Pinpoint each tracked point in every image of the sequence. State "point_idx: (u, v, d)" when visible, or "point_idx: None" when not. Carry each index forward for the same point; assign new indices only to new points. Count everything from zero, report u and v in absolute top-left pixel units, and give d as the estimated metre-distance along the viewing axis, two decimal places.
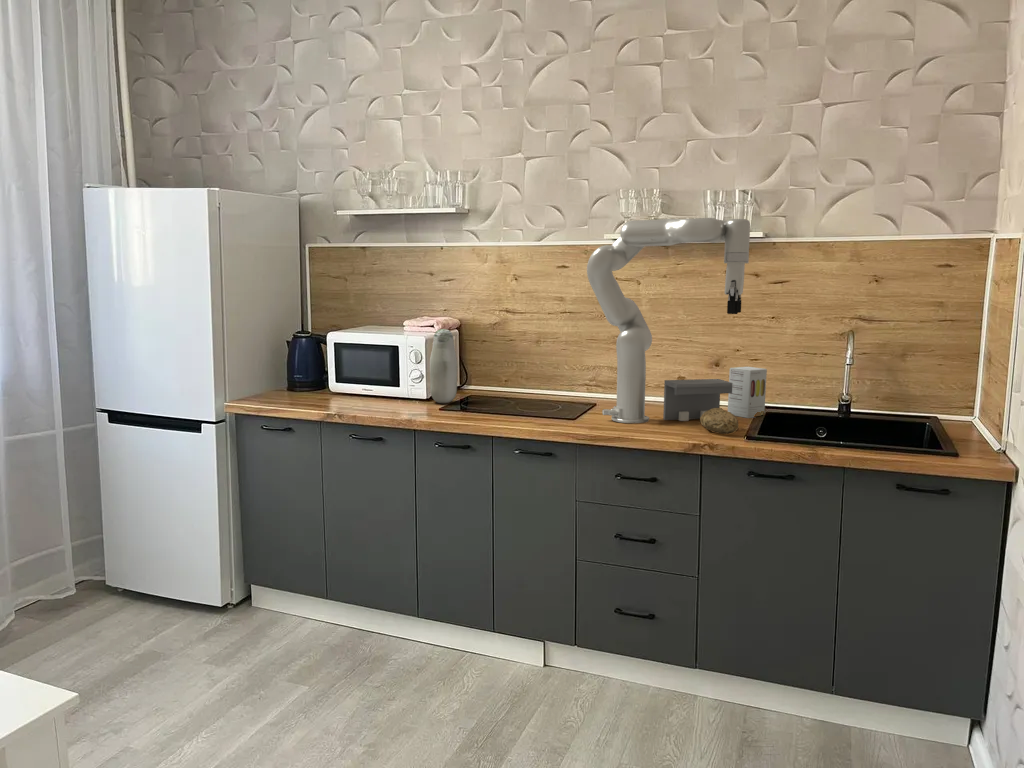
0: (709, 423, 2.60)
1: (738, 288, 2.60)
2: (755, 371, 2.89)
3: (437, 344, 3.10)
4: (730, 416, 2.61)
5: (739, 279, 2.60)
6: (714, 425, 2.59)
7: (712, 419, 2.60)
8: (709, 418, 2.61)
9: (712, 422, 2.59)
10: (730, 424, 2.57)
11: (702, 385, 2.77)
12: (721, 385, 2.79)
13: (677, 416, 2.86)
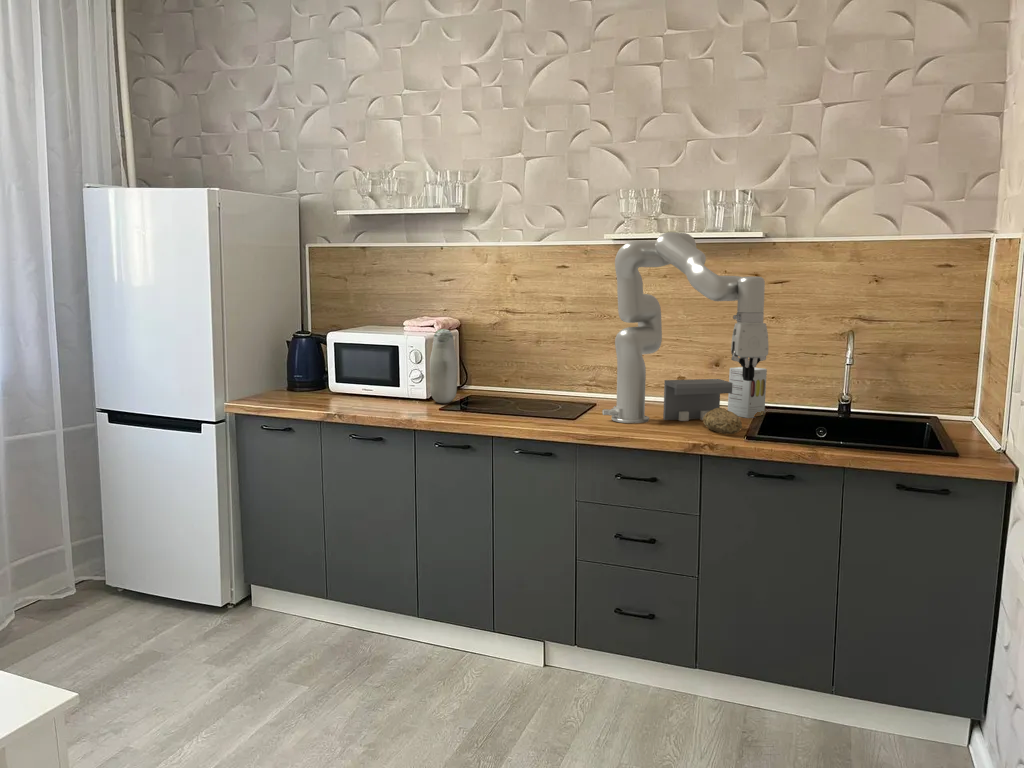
0: (712, 423, 2.60)
1: None
2: (755, 371, 2.89)
3: (436, 344, 3.10)
4: (733, 416, 2.61)
5: None
6: (717, 425, 2.59)
7: (715, 419, 2.60)
8: (712, 418, 2.61)
9: (715, 422, 2.59)
10: (733, 424, 2.57)
11: (702, 385, 2.77)
12: (721, 385, 2.79)
13: (677, 416, 2.86)
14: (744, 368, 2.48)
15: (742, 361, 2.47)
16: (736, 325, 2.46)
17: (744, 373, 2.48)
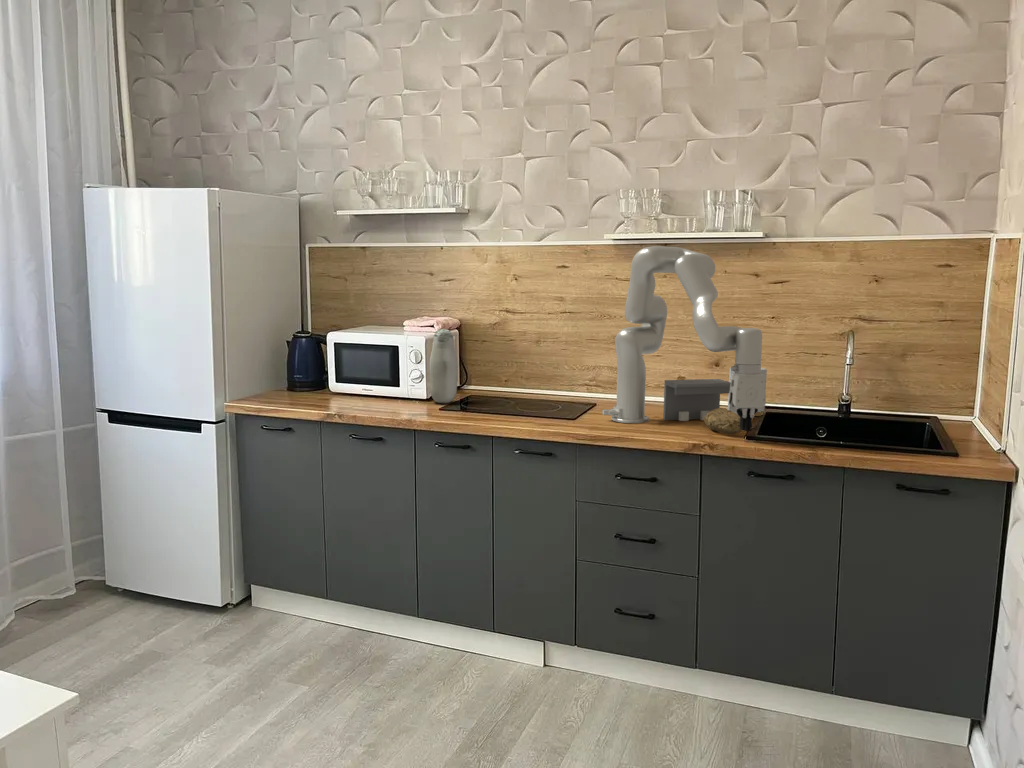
0: (714, 423, 2.60)
1: None
2: None
3: (436, 344, 3.10)
4: (735, 416, 2.61)
5: None
6: (719, 425, 2.59)
7: (717, 419, 2.59)
8: (714, 418, 2.61)
9: (717, 422, 2.59)
10: (735, 424, 2.57)
11: (702, 385, 2.77)
12: (721, 385, 2.79)
13: (677, 416, 2.86)
14: (741, 418, 2.50)
15: (740, 412, 2.49)
16: (734, 376, 2.48)
17: (742, 423, 2.50)
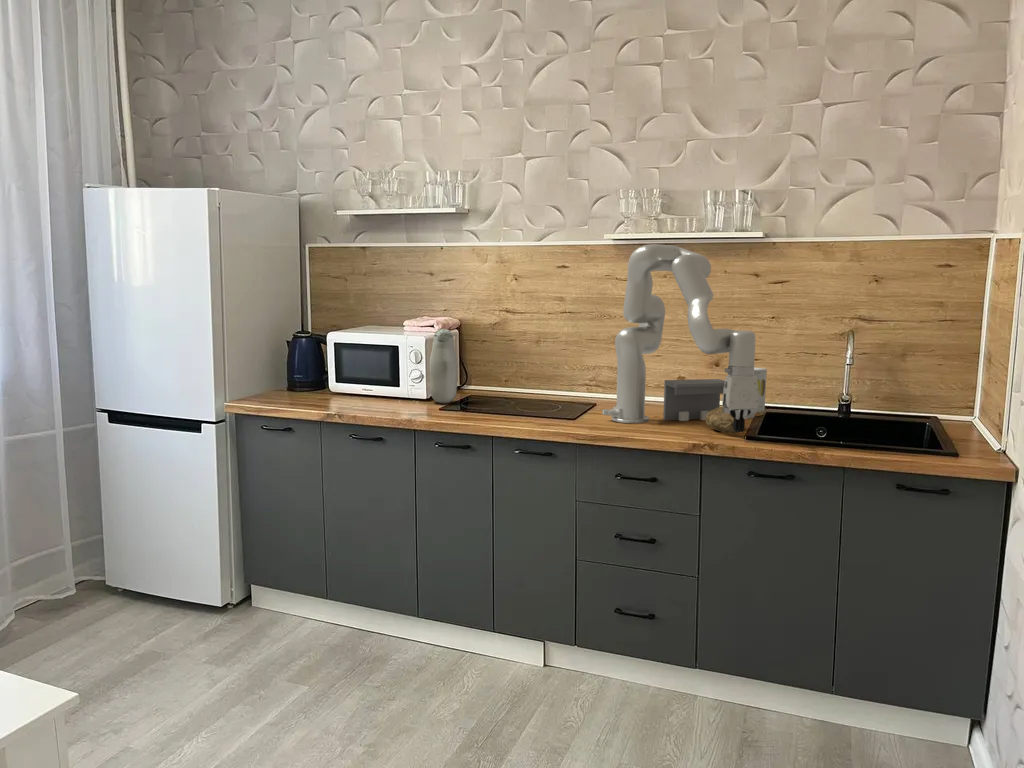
0: (716, 423, 2.60)
1: None
2: (755, 371, 2.89)
3: (436, 344, 3.10)
4: None
5: None
6: (721, 424, 2.59)
7: (719, 418, 2.60)
8: (716, 417, 2.61)
9: (719, 421, 2.59)
10: None
11: (702, 385, 2.77)
12: (721, 385, 2.79)
13: (677, 416, 2.86)
14: (735, 419, 2.54)
15: (733, 413, 2.53)
16: (727, 378, 2.52)
17: (735, 424, 2.54)
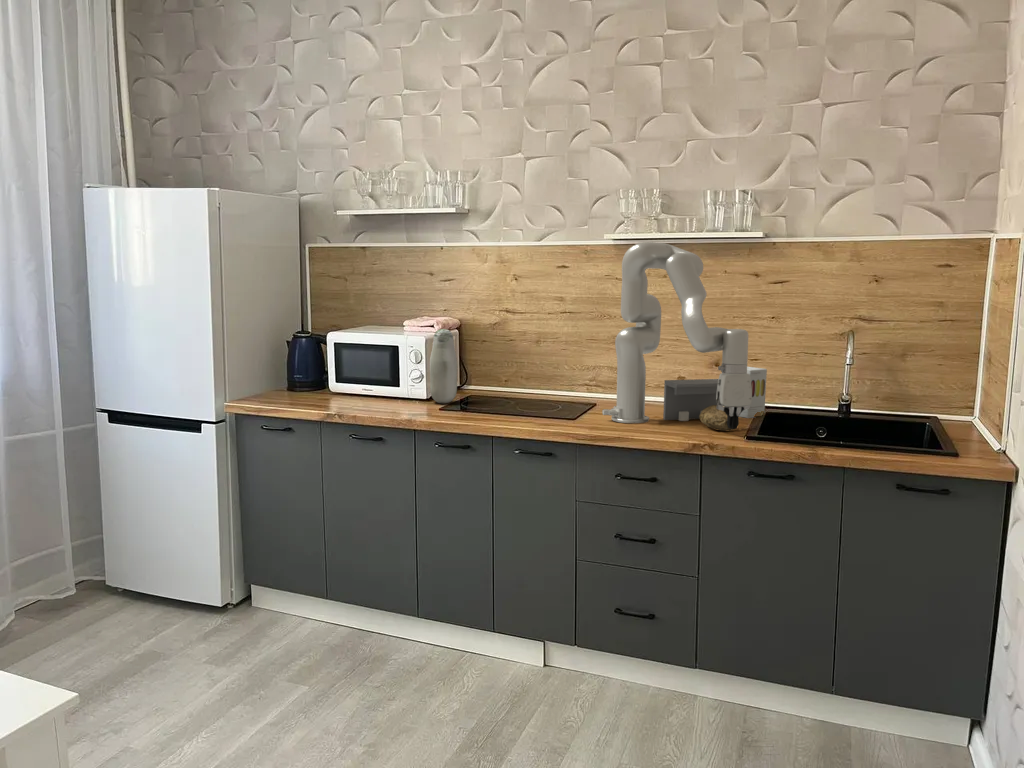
0: (711, 420, 2.64)
1: None
2: (755, 371, 2.89)
3: (436, 344, 3.10)
4: None
5: None
6: (716, 422, 2.63)
7: (714, 416, 2.64)
8: (710, 415, 2.65)
9: (714, 419, 2.63)
10: None
11: (702, 385, 2.77)
12: None
13: (677, 416, 2.86)
14: (728, 416, 2.58)
15: (726, 410, 2.57)
16: (721, 376, 2.56)
17: (728, 421, 2.59)
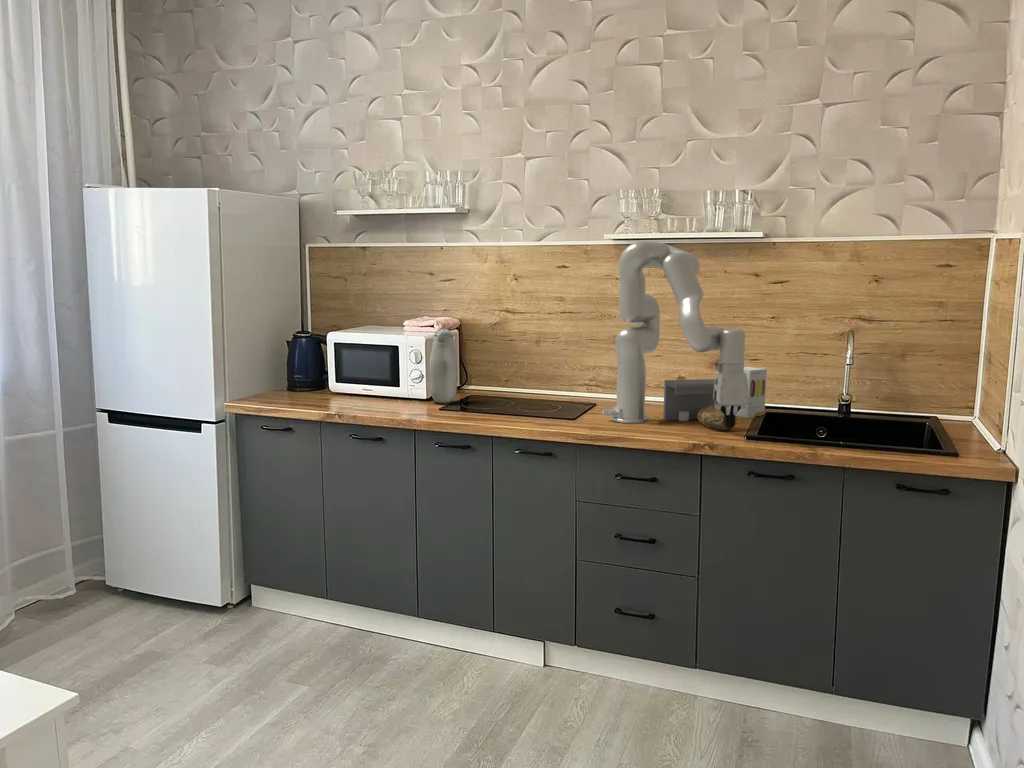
0: (708, 419, 2.66)
1: None
2: (755, 371, 2.89)
3: (436, 344, 3.10)
4: None
5: None
6: (713, 421, 2.65)
7: (711, 415, 2.66)
8: (708, 414, 2.67)
9: (711, 418, 2.65)
10: None
11: (702, 385, 2.77)
12: None
13: (677, 416, 2.86)
14: (725, 415, 2.60)
15: (723, 409, 2.59)
16: (718, 375, 2.58)
17: (725, 420, 2.61)
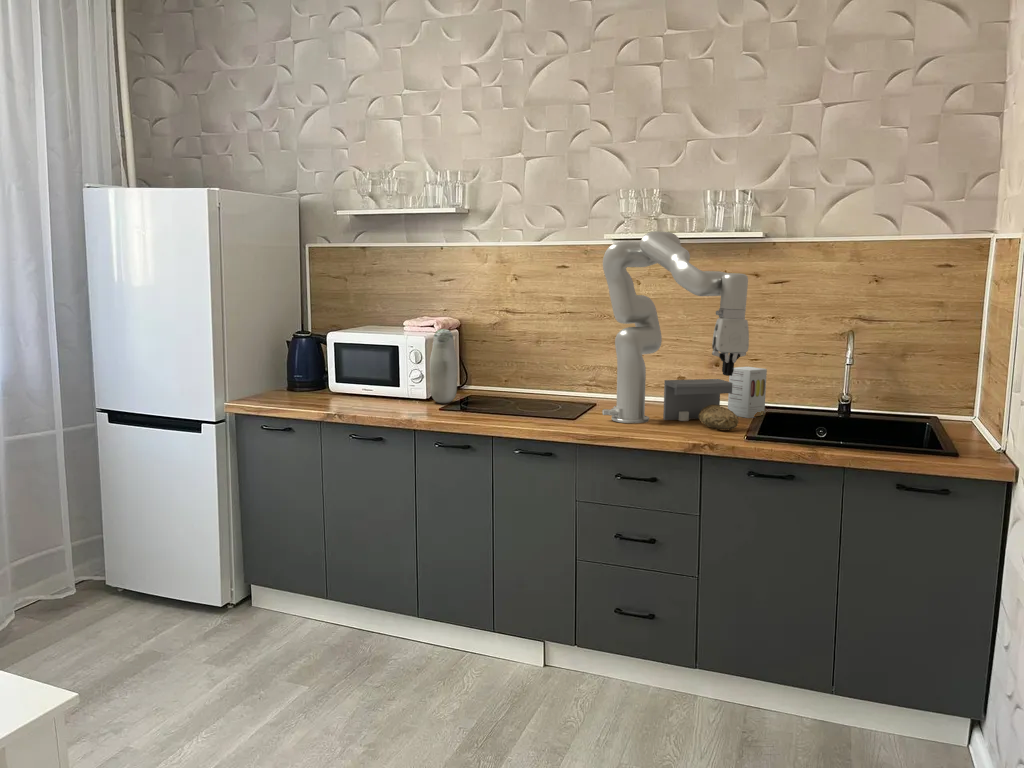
0: (710, 420, 2.66)
1: None
2: (755, 371, 2.89)
3: (436, 344, 3.10)
4: (730, 412, 2.68)
5: None
6: (715, 422, 2.65)
7: (713, 416, 2.66)
8: (710, 415, 2.67)
9: (713, 419, 2.65)
10: (731, 420, 2.64)
11: (702, 385, 2.77)
12: (721, 385, 2.79)
13: (677, 416, 2.86)
14: (724, 363, 2.53)
15: (722, 356, 2.52)
16: (718, 321, 2.50)
17: (724, 368, 2.53)
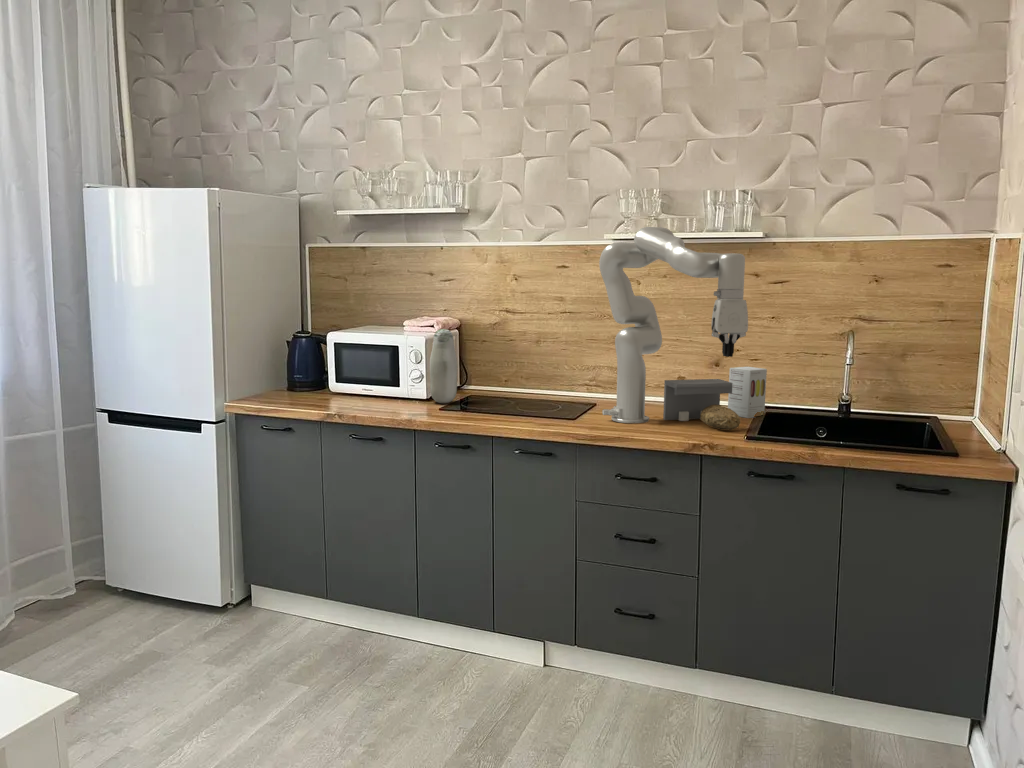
0: (712, 420, 2.66)
1: None
2: (755, 371, 2.89)
3: (436, 344, 3.10)
4: (732, 412, 2.68)
5: None
6: (717, 421, 2.65)
7: (715, 416, 2.66)
8: (712, 415, 2.67)
9: (715, 419, 2.65)
10: (733, 420, 2.64)
11: (702, 385, 2.77)
12: (721, 385, 2.79)
13: (677, 416, 2.86)
14: (724, 344, 2.51)
15: (722, 337, 2.50)
16: (716, 301, 2.49)
17: (724, 349, 2.52)
